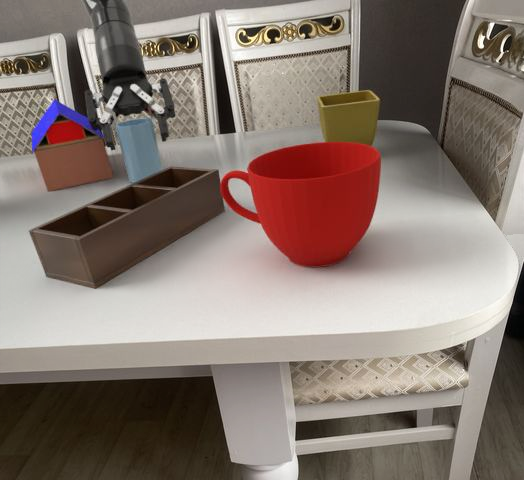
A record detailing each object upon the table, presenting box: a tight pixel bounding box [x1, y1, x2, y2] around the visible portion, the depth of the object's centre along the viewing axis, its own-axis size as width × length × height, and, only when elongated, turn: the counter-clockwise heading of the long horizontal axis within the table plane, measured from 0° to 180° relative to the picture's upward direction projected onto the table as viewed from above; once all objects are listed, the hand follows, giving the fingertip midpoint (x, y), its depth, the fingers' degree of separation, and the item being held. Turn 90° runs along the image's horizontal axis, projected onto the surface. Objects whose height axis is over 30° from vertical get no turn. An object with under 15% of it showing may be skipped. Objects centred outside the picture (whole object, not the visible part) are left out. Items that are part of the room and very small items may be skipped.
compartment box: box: [28, 165, 226, 289], centre depth 64 cm, size 8×24×6 cm, turn 147°
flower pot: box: [316, 89, 381, 147], centre depth 84 cm, size 9×9×9 cm
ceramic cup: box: [220, 141, 382, 268], centre depth 55 cm, size 13×17×10 cm
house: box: [31, 98, 114, 192], centre depth 96 cm, size 12×20×12 cm, turn 21°
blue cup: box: [114, 117, 164, 184], centre depth 88 cm, size 6×6×9 cm
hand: (138, 143), depth 87 cm, fingers open, 8 cm apart
